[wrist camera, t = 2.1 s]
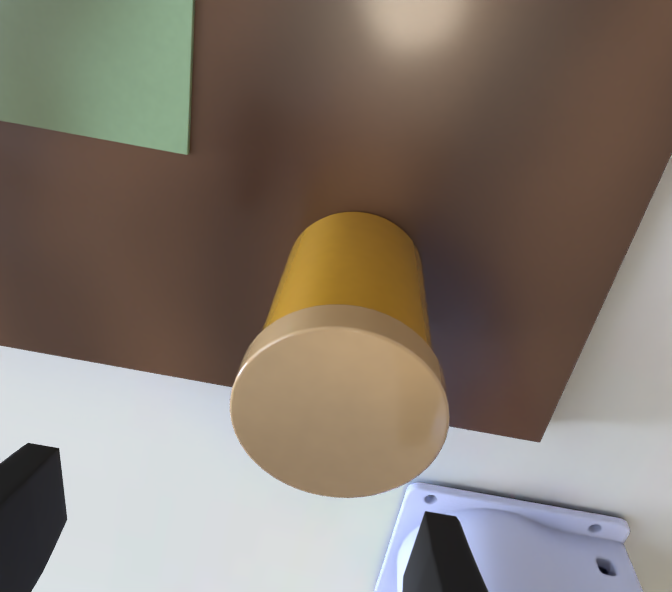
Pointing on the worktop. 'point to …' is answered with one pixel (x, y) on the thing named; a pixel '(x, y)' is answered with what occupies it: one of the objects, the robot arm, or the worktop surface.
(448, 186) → the walnut board
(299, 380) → the spice jar
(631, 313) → the worktop surface
